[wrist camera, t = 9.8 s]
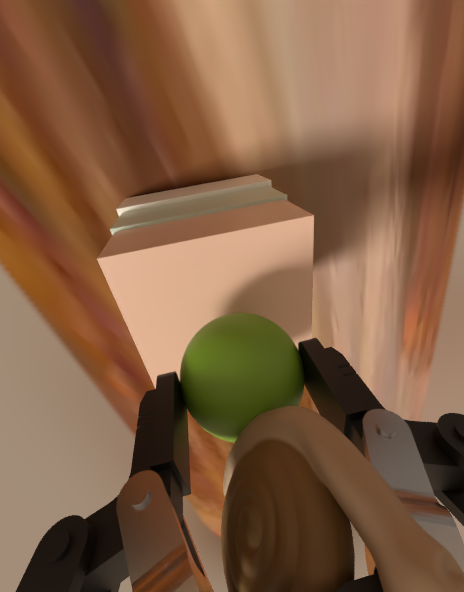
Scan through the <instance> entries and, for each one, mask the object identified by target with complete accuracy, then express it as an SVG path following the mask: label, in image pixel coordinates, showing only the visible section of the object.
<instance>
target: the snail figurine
mask: <svg viewBox="0 0 464 592" xmlns="http://www.w3.org/2000/svg"><path fill="white" fill-rule="evenodd" d="M180 386H181V392H182V396H183V399H184V402H185V404H186V407H187V409H188V410H189V412H190V414H191V415H192V417H193V418H194V419H195V420H196V422H197V423H198V424H199V425H200V426H201V427H202V428H203V429H205V430H206V431H207V432H209V433H210V434H212V435H214V436H216V437H218V438H220V439H223V440H226V441H230V442H235V443H234V445H233V447H232V449H231V451H230V453H229V456H228V459H227V462H226V467H225V472H224V481H223V491H224V495H225V501H224V506H223V513H222V524H221V547H222V560H223V567H224V574H225V579H226V583H227V587H228V592H335V591H336V590H337V589H338V588H340V587H341V586H342V585H343V584H344V583H347V582H350V581H354V547H353V537H352V530H351V525H350V522H351V523H352V525H353V526H354V528H355V529H356V531H357V532H358V534H359V535H360V537H361V538H362V540H363V542H364V543H365V545H366V546H367V548H368V550H369V551H370V553H371V555H372V557H373V560H374V562H375V565H376V568H377V571H378V574H379V578H380V582H381V585H382V588H383V591H384V592H464V573H463V571H462V569H461V568H460V566H459V565H458V563H457V562H456V560H455V559H454V557H453V556H452V555H451V553H450V552H449V551H448V550H447V549H446V548H445V547H443V546H442V545H441V544H440V543H439V542H437V541H436V540H435V539H434V538H433V537H431V536H430V535H429V534H428V533H427V532H426V531H425V530H424V529H423V528H422V527H421V526H420V525H419V524H418V523H417V522H416V521H415V519H414V518H413V517H412V516H411V514H410V513H409V512H408V510H407V509H406V508H405V506H404V505H403V504H402V502H401V501H400V499H399V498H398V496H397V495H396V494H395V492H394V491H393V490H392V488H391V487H390V486H389V485H388V483H387V482H386V481H385V480H384V479H383V477H382V476H381V475H380V474H379V473H378V472H377V470H376V469H375V468H374V467H373V466H372V465H371V463H370V462H369V461H368V460H367V459H366V458H365V457H364V456H363V454H362V453H361V452H360V451H359V450H358V449H357V448H356V447H355V445H354V444H353V443H352V442H351V441H350V440H349V439H348V438H347V437H346V436H345V435H344V434H343V433H342V432H341V431H340V430H339V429H337V428H336V427H335V426H334V425H333V424H332V423H330V422H329V421H328V420H327V419H325V418H324V417H322V416H321V415H319V414H318V413H316V412H314V411H312V410H310V409H308V408H305V407H301V406H299V404H300V401H301V398H302V394H303V390H304V368H303V363H302V359H301V356H300V353H299V351H298V349H297V347H296V345H295V343H294V342H293V340H292V339H291V338H290V336H289V335H288V334H287V333H286V332H285V331H284V330H283V329H282V328H281V327H280V326H278V325H277V324H276V323H274V322H272V321H271V320H269V319H267V318H265V317H262V316H259V315H255V314H250V313H233V314H228V315H224V316H221V317H218V318H216V319H214V320H212V321H211V322H209V323H207V324H206V325H205V326H203V327H202V328H201V329H200V330H199V331H198V332H197V333H196V334H195V335H194V337H193V338H192V339H191V341H190V343H189V344H188V346H187V348H186V350H185V353H184V355H183V358H182V362H181V368H180Z"/></svg>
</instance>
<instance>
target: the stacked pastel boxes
mask: <svg viewBox="0 0 464 592" xmlns="http://www.w3.org/2000/svg"><path fill="white" fill-rule="evenodd" d="M117 212H118V215H119V218H118V219H117V221H116V222H115V223H114V225H113V226H112V227H111V229H110V230H111V233H112V235H113V236H112V237H111V239H110V240H109V242H108V243H107V245H106V246H105V248H104V249H103V251H102V252H101V254H100V255H99V257H98V258H97V260H98V262H99V264H100V267H101V269H102V271H103V273H104V275H105V278H106V280H107V282H108V284H109V287H110V289H111V291H112V293H113V295H114V298H115V300H116V302H117V304H118V306H119V309H120V311H121V313H122V315H123V318H124V320H125V322H126V324H127V326H128V329H129V331H130V333H131V335H132V338H133V340H134V342H135V344H136V346H137V349H138V351H139V353H140V355H141V358H142V360H143V362H144V364H145V366H146V369H147V371H148V373H149V375H150V377H151V380H152V382H153V384H154V386H155V389H156V380H157V376H158V375H161V374H165V373H169V372H174V371H176V373H177V375H178V378H179V381H180V368H181V362H182V358H183V355H184V353H185V350H186V348H187V346H188V344H189V343H190V341H191V339H192V338H193V337H194V335H195V334H196V333H197V332H198V331H199V330H200V329H201V328H202V327H203V326H205V325H206V324H207V323H209V322H211V321H212V320H214V319H216V318H218V317H221V316H224V315H228V314H233V313H250V314H255V315H259V316H262V317H265V318H267V319H269V320H271V321H272V322H274V323H276V324H277V325H278V326H280V327H281V328H282V329H283V330H284V331H285V332H286V333H287V334H288V335H289V336H290V338H291V339H292V340H293V342H294V343H295V345H296V347H297V349H298V343H299V342H301V341H305V340H309V339H311V335H312V288H313V241H314V215H313V214H311V213H309V212H307V211H305V210H303V209H302V208H300V207H298V206H296V205H294V204H292V203H291V202H289V201H288V200H287V195H286V194H284V193H282V192H280V191H278V190H276V189H274V188H272V185H271V180H270V179H267V178H265V177H263V176H260V175H258V174H255V175H249V176H244V177H238V178H233V179H227V180H222V181H217V182H211V183H206V184H200V185H195V186H189V187H184V188H179V189H173V190H168V191H162V192H157V193H152V194H146V195H141V196H135V197H130V198H126V199H125V200H124V201H123V202H122V203H121V204H120V206H119V207H118V208H117Z"/></svg>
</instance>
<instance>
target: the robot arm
mask: <svg viewBox="0 0 464 592" xmlns="http://www.w3.org/2000/svg"><path fill="white" fill-rule="evenodd" d="M298 351H299V353H300V356H301V359H302V363H303V368H304V384H305V386H306V388H307V390H308V392H309V394H310V396H311V398H312V400H313V401H314V403H315V405H316V407H317V409H318V411H319V413H320V415H321V416H322V417H324V418H325V419H327V420H328V421H329V422H330V423H332V424H333V425H334V426H335V427H336V428H337V429H339V430H340V431H341V432H342V433H343V434H344V435H345V436H346V437H347V438H348V439H349V440H350V441H351V442H352V443H353V444H354V445H355V447H356V448H357V449H358V450H359V451H360V452H361V453H362V454H363V456H364V457H365V458H366V459H367V460H368V461H369V462H370V463H371V465H372V466H373V467H374V468H375V469H376V470H377V472H378V473H379V474H380V475H381V476H382V477H383V479H384V480H385V481H386V482H387V483H388V485H389V486H390V487H391V488H392V490H393V491H394V492H395V494H396V495H397V496H398V498H399V499H400V501H401V502H402V504H403V505H404V506H405V508H406V509H407V510H408V512H409V513H410V514H411V516H412V517H413V518H414V519H415V521H416V522H417V523H418V524H419V525H420V526H421V527H422V528H423V529H424V530H425V531H426V532H427V533H428V534H429V535H430V536H431V537H433V538H434V539H435V540H436V541H437V542H439V543H440V544H441V545H442V546H443V547H445V548H446V549H447V550H448V551H449V552H450V553H451V555H452V556H453V557H454V559H455V560H456V562H457V563H458V565H459V566H460V568H461V569H462V571H463V573H464V544H463V541H462V538H461V536H460V533H459V531H458V528H457V526H456V523H455V521H454V519H453V517H452V515H451V514H450V512H451V513H452V514H453V515H454V516H455V517H456V518H457V520H458V521H459V522H460V523H461V524H462V525H463V526H464V415H462V414H457V413H448V414H444V415H442V416H441V417H440V418H439V420H438V422H437V423H432V422H418V421H408V420H404V419H402V418H401V417H400V416H398V415H397V414H395V413H393V412H391V411H388V410H386V409H385V408H384V407H383V406H382V405H381V404H380V403H379V401H378V400H377V399H376V397H375V396H374V395H373V394H372V392H371V391H370V390H369V388H368V387H367V386H366V384H365V383H364V382H363V381H362V379H361V378H360V377H359V375H358V374H356V371H355V370H354V369H353V368H352V366H350V364H349V362H348V361H347V360H346V358H345V357H344V356H343V355H342V354H341V353H340V352H338V351H337V350H335V349H334V348H332V347H329V348H325V349H324V347H323V346H322V345H321V343H320V342H319V340H318V339H317V338H313V339H309V340H305V341H301V342H299V343H298ZM138 417H139V419H138V422H137V430H136V437H135V445H134V452H133V460H132V468H131V473H130V476H129V479H128V481H127V482H126V483H125V485H124V486H123V488H122V489H121V491H120V493H119V495H118V496H117V497H116V498H115V499H114V500H113V501H111V502H110V503H109V504H107V505H106V506H104V507H103V508H101V509H100V510H98V511H96V512H95V513H93V514H92V515H90V516H89V517H87V518H86V519H83V518H82V517H80V516H77V515H72V516H68V517H65V518H63V519H61V520H60V521H58V522H57V523H56V524H55V525H54V526H52V527H51V528H50V530H48V531H47V533H46V534H45V535H44V536H43V538H42V540H41V541H40V543H39V545H38V546H37V548H36V550H35V552H34V555H33V557H32V559H31V561H30V563H29V565H28V567H27V569H26V571H25V573H24V575H23V577H22V579H21V582H20V584H19V586H18V588H17V590H16V592H118V590H119V587H120V583H121V582H122V581H123V580H125V579H126V578H127V577H128V576H130V580H131V586H132V592H214V591H213V589H212V586H211V584H210V582H209V580H208V577H207V575H206V573H205V570H204V567H203V565H202V563H201V560H200V557H199V555H198V552H197V550H196V547H195V544H194V542H193V539H192V537H191V534H190V531H189V529H188V526H187V524H186V521H185V519H184V516H183V496H186V495H189V494H191V488H190V465H189V441H188V418H187V407H186V404H185V402H184V399H183V396H182V392H181V386H180V381H179V378H178V375H177V373H176V371H174V372H169V373H165V374H161V375H158V376H157V380H156V389H155V390H151V391H147V392H146V394H145V395H144V397H143V399H142V401H141V403H140V407H139V415H138ZM435 496H436V497H437V498H438V499H439V500H440V501H441V503H442V504H443V505H444V506H445V507H444V506H442V505H440V504H439V503H438V501H437V499H436V497H435ZM447 509H448V510H449V511H450V512H449V511H448V510H447ZM365 556H366V563H367V570H368V576H366V577H363V578H360V579H357V580H354V581H350V582H347V583H344V584H343V585H342V586H341V587H340V588H338V589H337V590H336V591H335V592H384V591H383V588H382V585H381V582H380V578H379V574H378V571H377V568H376V565H375V562H374V560H373V557H372V555H371V553H370V551H369V550H368V548H367V546H366V545H365Z"/></svg>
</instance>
